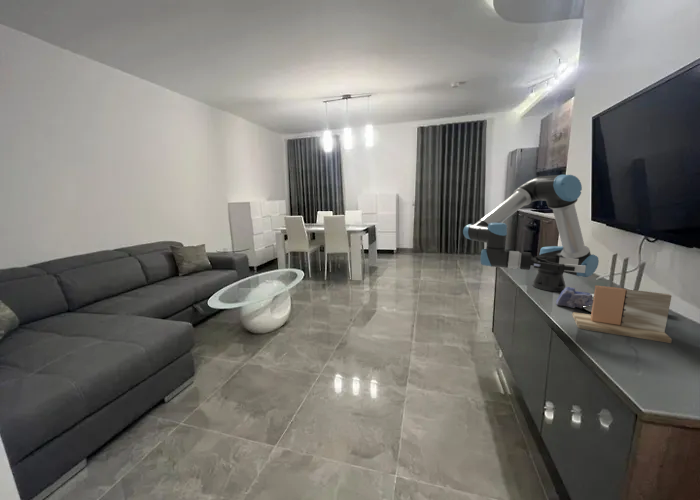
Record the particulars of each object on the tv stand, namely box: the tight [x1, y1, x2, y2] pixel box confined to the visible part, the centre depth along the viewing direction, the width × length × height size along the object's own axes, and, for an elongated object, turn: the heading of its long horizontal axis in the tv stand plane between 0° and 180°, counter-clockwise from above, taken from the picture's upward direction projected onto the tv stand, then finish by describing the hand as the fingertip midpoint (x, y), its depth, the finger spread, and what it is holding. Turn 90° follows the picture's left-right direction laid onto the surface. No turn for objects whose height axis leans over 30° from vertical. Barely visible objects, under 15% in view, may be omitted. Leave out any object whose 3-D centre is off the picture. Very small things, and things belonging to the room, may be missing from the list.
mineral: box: [555, 286, 594, 309], centre depth 137 cm, size 15×10×10 cm
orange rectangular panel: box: [590, 284, 626, 325], centre depth 116 cm, size 2×9×14 cm, turn 62°
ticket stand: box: [571, 288, 673, 344], centre depth 114 cm, size 14×26×16 cm, turn 62°
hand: (581, 265), depth 117 cm, fingers open, 13 cm apart
